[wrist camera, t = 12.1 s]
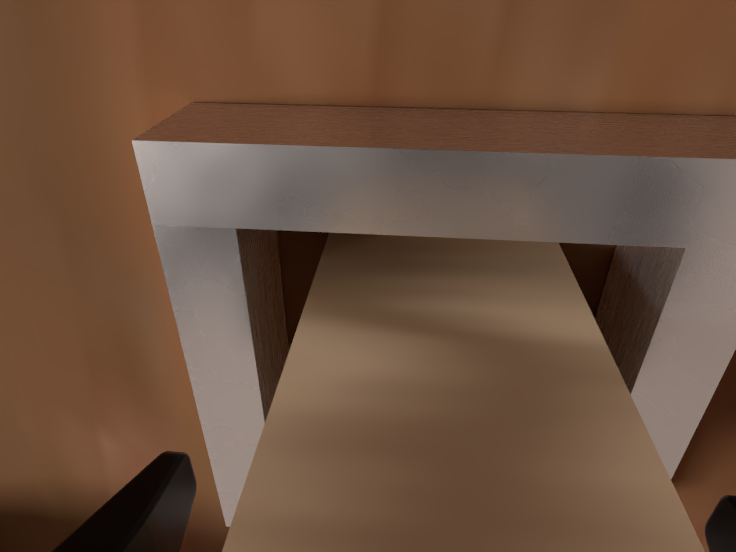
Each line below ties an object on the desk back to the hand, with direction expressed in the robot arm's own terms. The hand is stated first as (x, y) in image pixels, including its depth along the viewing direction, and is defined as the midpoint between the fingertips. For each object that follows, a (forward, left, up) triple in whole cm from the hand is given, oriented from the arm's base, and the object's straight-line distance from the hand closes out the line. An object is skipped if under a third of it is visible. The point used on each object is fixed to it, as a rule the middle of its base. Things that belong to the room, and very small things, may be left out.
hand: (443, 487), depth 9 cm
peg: (0, 0, -5) cm, 5 cm away
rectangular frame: (0, 0, -5) cm, 5 cm away
